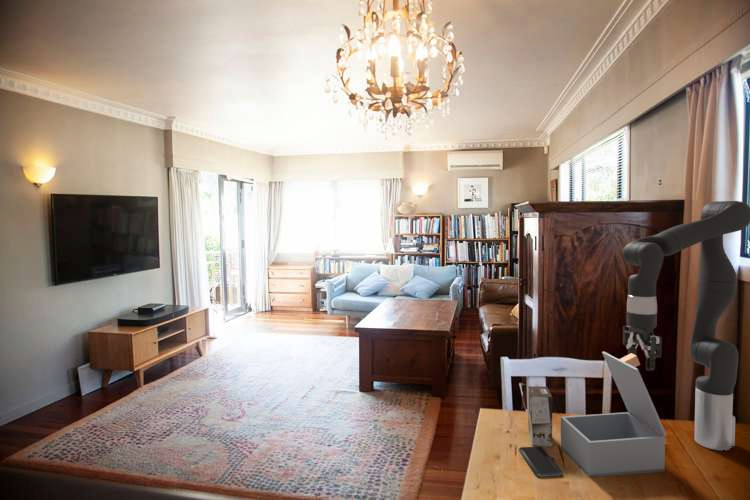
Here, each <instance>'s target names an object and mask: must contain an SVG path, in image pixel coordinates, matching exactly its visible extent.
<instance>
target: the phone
mask: <svg viewBox="0 0 750 500" xmlns="http://www.w3.org/2000/svg"><path fill="white" fill-rule="evenodd" d="M518 451H519V454H520V455H521V456H522V458H523V460H524V461H525V463H526V464H527V466H528V467H529V469H530V470H531V472H532V473H533V476H535V477H536V478H538V479H541V478H542V479H544V478H562V477H563V474H564V473H563V470H562V469H561V468H560V466H558V464H557V463H556V462H555V460H554V459H553V458H552V456H551V455H550V454H549V453H548V451H547V450H546V448H545V447H544V446H539V445H537V446H520V447H519V448H518Z"/></svg>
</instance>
